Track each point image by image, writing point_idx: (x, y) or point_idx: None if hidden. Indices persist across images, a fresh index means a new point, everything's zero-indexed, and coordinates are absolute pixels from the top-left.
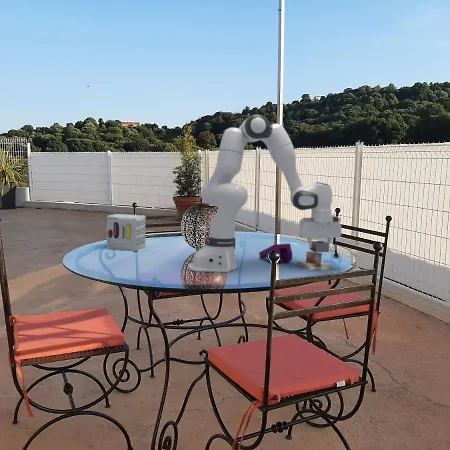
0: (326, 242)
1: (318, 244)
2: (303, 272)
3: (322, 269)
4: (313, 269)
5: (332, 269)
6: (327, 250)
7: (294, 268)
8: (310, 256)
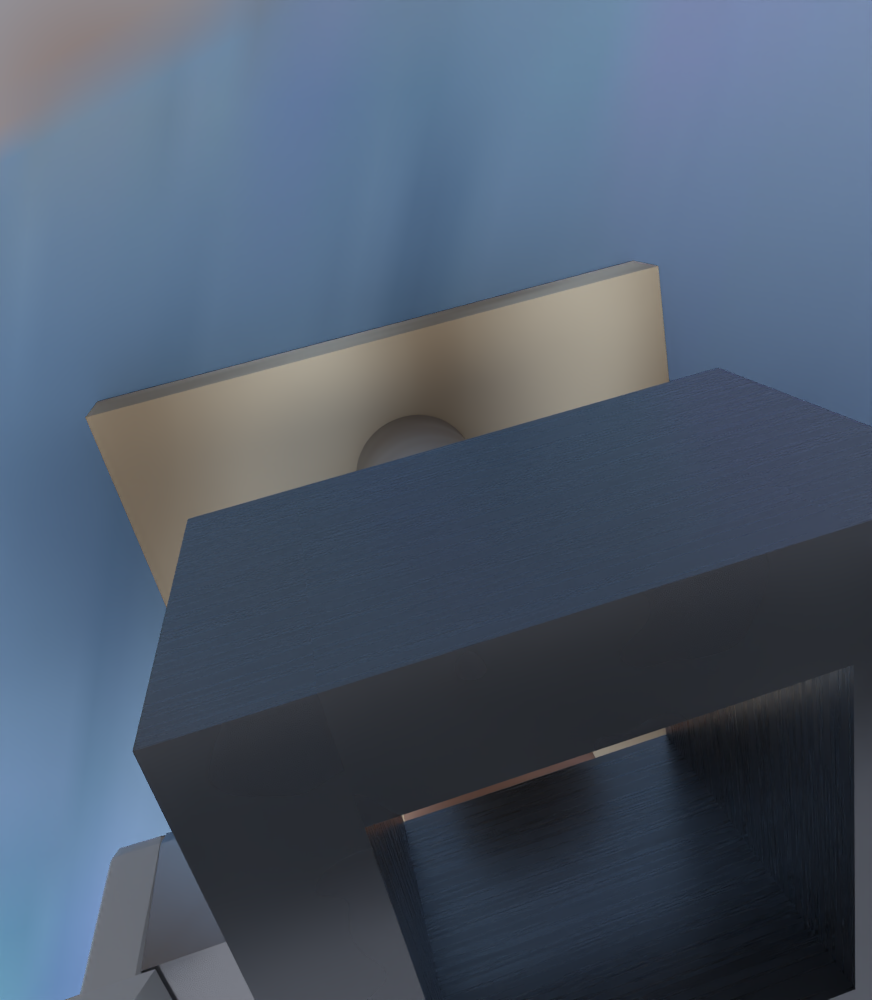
0: (263, 995)
1: (829, 503)
2: (801, 43)
3: (341, 339)
4: (543, 288)
5: (102, 401)
6: (240, 530)
7: (842, 393)
8: (569, 765)
